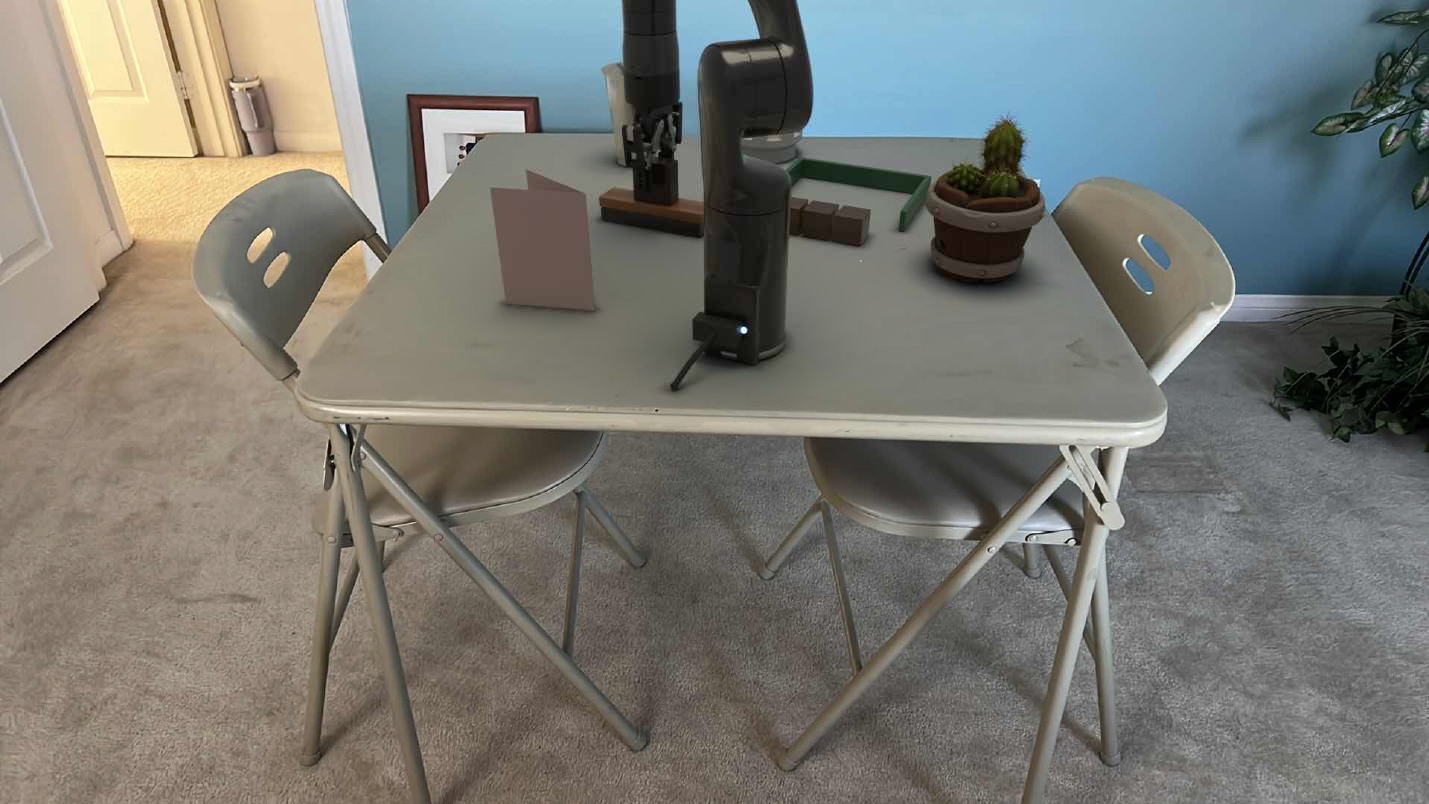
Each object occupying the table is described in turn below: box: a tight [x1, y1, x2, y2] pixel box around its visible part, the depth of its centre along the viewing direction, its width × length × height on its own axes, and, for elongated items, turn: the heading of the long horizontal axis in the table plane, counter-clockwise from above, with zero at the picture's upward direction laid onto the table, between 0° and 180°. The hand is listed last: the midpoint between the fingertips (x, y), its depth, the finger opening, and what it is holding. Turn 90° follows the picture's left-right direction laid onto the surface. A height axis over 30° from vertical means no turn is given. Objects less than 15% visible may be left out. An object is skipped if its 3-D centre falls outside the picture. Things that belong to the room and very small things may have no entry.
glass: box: [600, 61, 657, 168], centre depth 152 cm, size 11×11×30 cm
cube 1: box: [832, 204, 872, 247], centre depth 131 cm, size 4×4×4 cm
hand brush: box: [598, 155, 704, 239], centre depth 135 cm, size 5×17×10 cm, turn 66°
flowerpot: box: [925, 109, 1046, 284], centre depth 119 cm, size 14×15×20 cm
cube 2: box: [801, 199, 840, 242], centre depth 133 cm, size 4×4×4 cm
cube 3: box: [789, 196, 809, 236], centre depth 135 cm, size 4×4×4 cm
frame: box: [785, 156, 932, 232], centre depth 143 cm, size 16×22×3 cm
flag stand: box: [741, 128, 804, 164], centre depth 155 cm, size 13×13×30 cm
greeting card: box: [489, 168, 596, 312], centre depth 112 cm, size 11×7×15 cm, turn 45°
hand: (655, 185), depth 134 cm, fingers open, 6 cm apart
